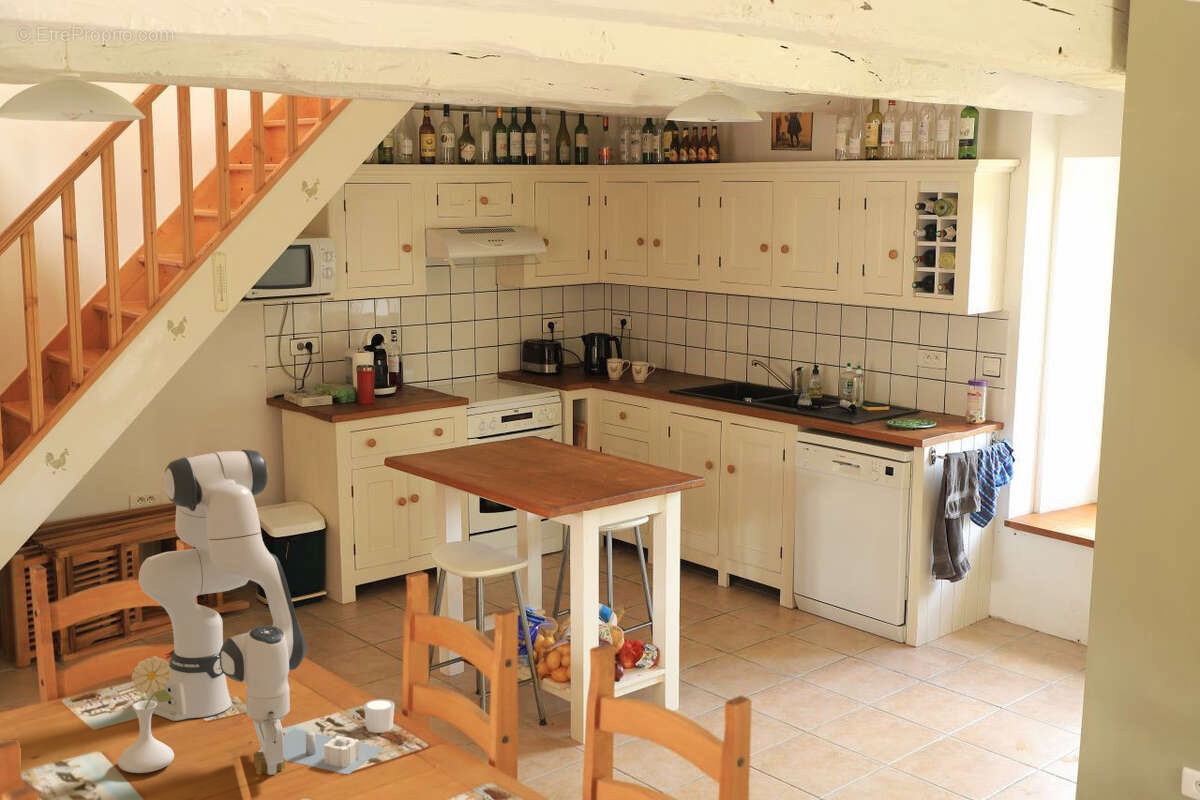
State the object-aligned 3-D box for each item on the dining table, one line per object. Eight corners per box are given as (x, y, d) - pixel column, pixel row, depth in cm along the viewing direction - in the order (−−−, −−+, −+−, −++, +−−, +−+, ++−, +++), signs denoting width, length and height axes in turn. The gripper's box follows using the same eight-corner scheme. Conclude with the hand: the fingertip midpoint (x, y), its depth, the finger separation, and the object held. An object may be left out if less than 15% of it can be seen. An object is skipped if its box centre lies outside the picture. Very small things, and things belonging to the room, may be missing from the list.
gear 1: (244, 777, 251) (244, 759, 250) (266, 763, 257) (266, 746, 257) (272, 784, 248) (272, 765, 248) (294, 769, 255) (293, 752, 254)
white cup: (388, 741, 270) (387, 711, 269) (359, 738, 271) (359, 708, 270) (399, 729, 277) (399, 700, 276) (371, 726, 278) (371, 697, 277)
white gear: (327, 770, 252) (327, 752, 251) (321, 756, 258) (321, 738, 258) (361, 764, 255) (361, 747, 254) (355, 751, 261) (355, 733, 261)
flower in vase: (105, 772, 252) (101, 659, 248) (143, 751, 262) (139, 642, 259) (156, 783, 247) (152, 668, 244) (192, 761, 258) (189, 650, 254)
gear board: (254, 759, 259) (254, 733, 258) (294, 735, 272) (293, 710, 271) (348, 781, 250) (348, 754, 249) (384, 754, 263) (384, 728, 262)
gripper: (291, 721, 242) (292, 785, 244) (276, 685, 261) (277, 744, 263) (259, 725, 240) (260, 790, 242) (246, 688, 259) (248, 749, 260)
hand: (269, 766), depth 253 cm, fingers closed on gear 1, 6 cm apart
